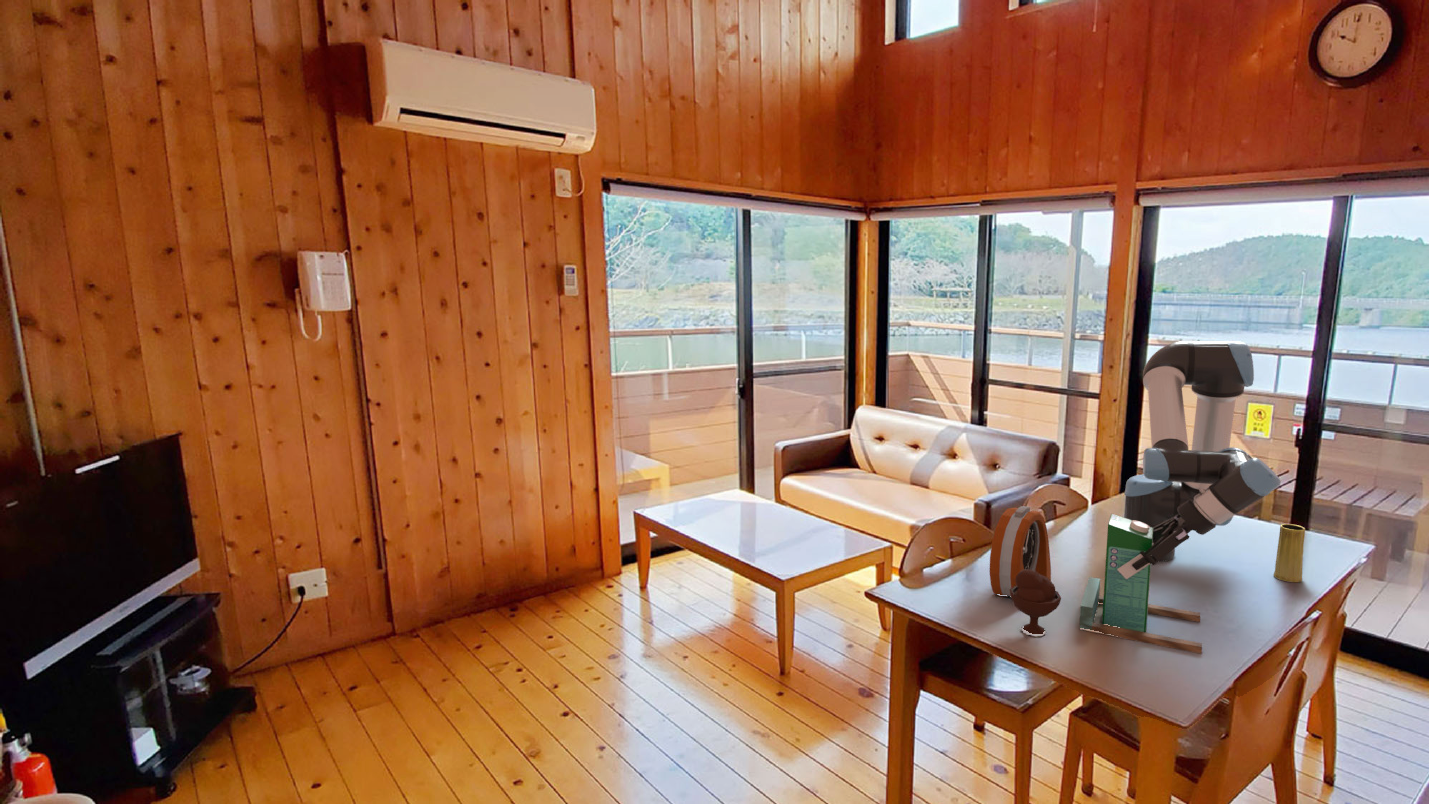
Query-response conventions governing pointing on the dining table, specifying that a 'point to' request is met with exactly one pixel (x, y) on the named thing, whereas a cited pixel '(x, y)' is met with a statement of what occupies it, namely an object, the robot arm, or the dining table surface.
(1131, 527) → the milk carton
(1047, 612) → the ice cream bowl
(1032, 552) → the alarm clock
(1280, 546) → the vase
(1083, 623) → the track
